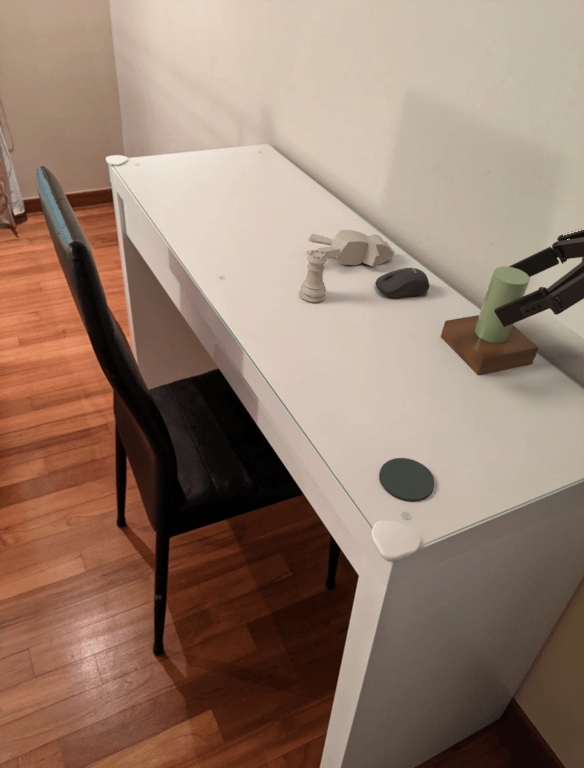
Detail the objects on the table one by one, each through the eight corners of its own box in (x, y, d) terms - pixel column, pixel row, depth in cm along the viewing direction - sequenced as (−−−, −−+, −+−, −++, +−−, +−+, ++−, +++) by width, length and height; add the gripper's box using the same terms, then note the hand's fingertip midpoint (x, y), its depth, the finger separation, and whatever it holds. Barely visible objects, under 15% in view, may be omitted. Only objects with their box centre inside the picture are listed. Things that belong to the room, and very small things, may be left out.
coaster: (444, 493, 70) (445, 491, 70) (396, 507, 68) (396, 505, 68) (415, 455, 75) (416, 452, 74) (369, 466, 73) (370, 464, 72)
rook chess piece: (293, 293, 102) (297, 250, 97) (314, 287, 104) (319, 244, 99) (310, 306, 99) (315, 262, 94) (331, 299, 101) (337, 255, 96)
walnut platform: (532, 363, 92) (539, 347, 90) (477, 375, 88) (483, 358, 86) (492, 327, 99) (497, 311, 97) (440, 336, 95) (445, 320, 93)
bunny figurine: (403, 250, 108) (324, 245, 104) (394, 275, 111) (317, 271, 107) (383, 227, 115) (309, 220, 110) (376, 251, 118) (303, 246, 114)
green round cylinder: (514, 340, 91) (537, 281, 84) (487, 345, 89) (508, 286, 83) (494, 322, 94) (515, 264, 88) (467, 327, 93) (486, 268, 86)
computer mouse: (370, 283, 106) (374, 263, 104) (419, 280, 109) (424, 260, 106) (382, 300, 102) (386, 279, 100) (432, 297, 104) (438, 276, 102)
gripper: (651, 165, 82) (505, 239, 96) (659, 236, 64) (478, 316, 77) (674, 211, 84) (528, 278, 98) (689, 293, 66) (507, 361, 79)
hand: (506, 295), depth 88 cm, fingers open, 13 cm apart
